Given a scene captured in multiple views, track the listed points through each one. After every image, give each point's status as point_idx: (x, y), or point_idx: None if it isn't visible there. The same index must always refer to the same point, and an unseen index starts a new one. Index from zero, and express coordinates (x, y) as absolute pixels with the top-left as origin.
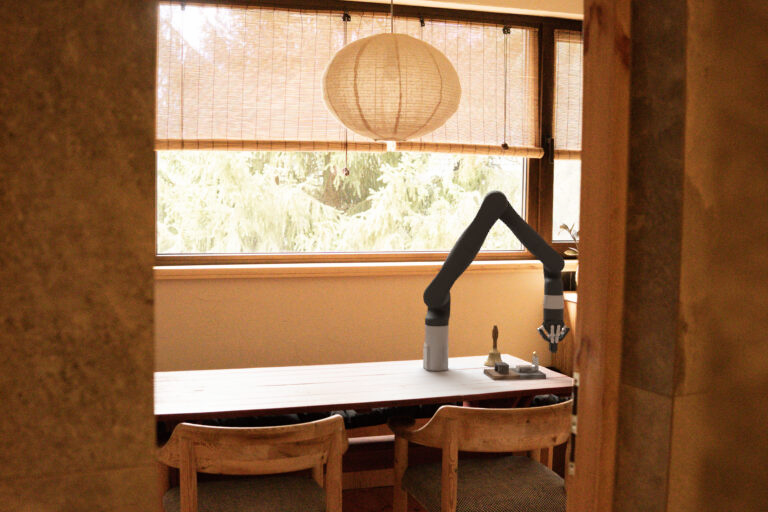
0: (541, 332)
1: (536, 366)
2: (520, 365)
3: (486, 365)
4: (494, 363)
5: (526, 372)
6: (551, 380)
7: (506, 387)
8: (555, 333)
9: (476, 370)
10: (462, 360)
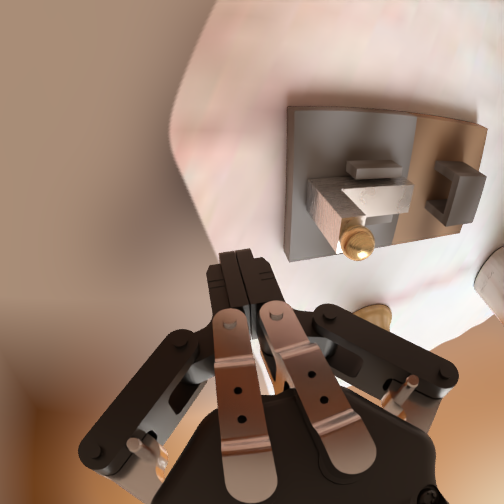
0: (427, 358)
1: (329, 189)
2: (392, 209)
3: (391, 313)
4: (380, 316)
5: (372, 160)
6: (276, 59)
7: (480, 19)
8: (261, 396)
9: (445, 258)
10: None
